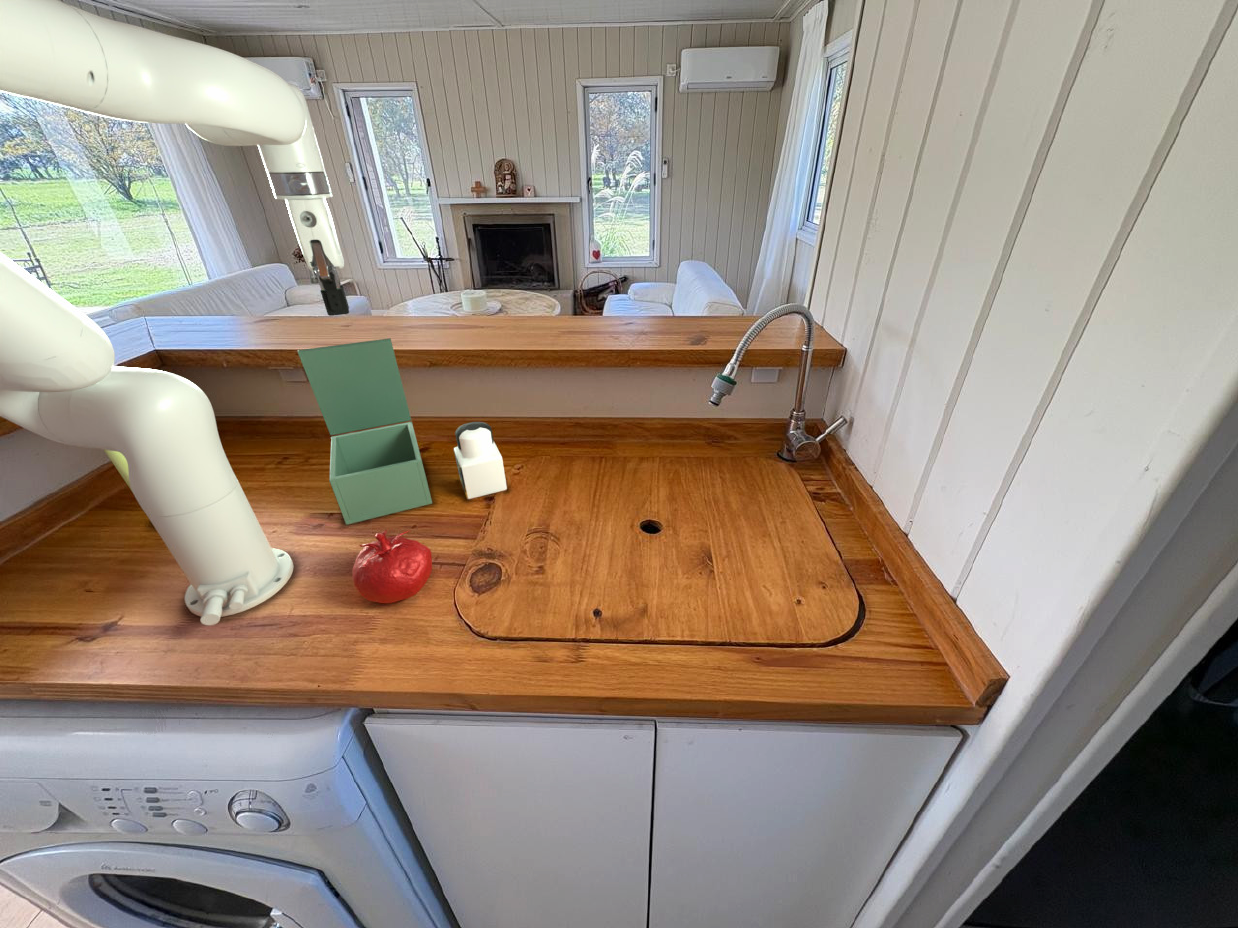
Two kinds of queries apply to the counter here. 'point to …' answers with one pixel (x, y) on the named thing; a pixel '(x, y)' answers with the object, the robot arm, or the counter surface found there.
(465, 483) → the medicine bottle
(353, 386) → the lid
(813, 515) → the counter surface
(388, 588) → the pomegranate
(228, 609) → the robot arm
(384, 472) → the bin
